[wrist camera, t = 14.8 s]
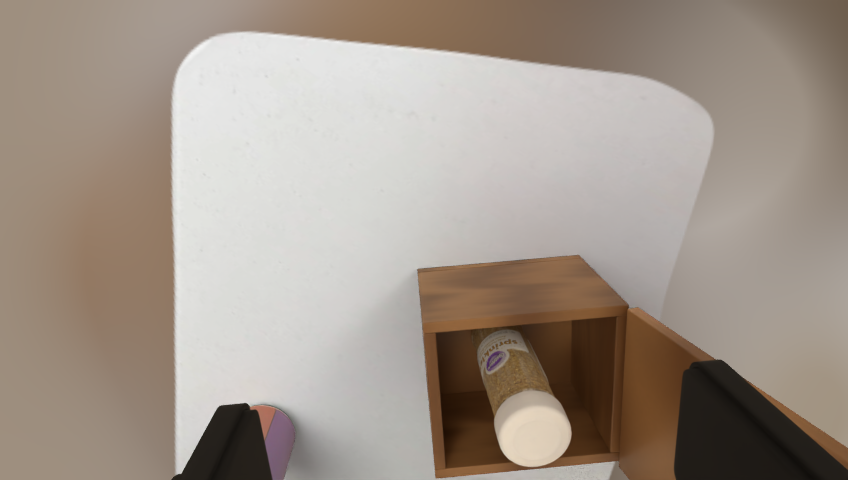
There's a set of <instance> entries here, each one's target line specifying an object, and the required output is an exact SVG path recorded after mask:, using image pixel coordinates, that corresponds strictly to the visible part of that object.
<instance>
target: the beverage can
mask: <svg viewBox="0 0 848 480" xmlns="http://www.w3.org/2000/svg"><path fill="white" fill-rule="evenodd" d="M253 409H256V410H257V411H258V413H259V416H260V421H261V426H262V431H263V436H264V440H265V445H266V450H267V455H268V460H269V464H270V469H271V474H272V479H273V480H284V477H285V473H286V470H287V466H288V463H289V459H290V456H291V452H292V449H293V445H294V442H295V429H294V426H293V424H292V422H291V420H290V419H289V417H288V416H287V415H286V414H285V413H284V412H282V411H281V410H279V409H277V408H275V407H272V406H268V405H256V406H251V407H250V410H253Z"/></svg>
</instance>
